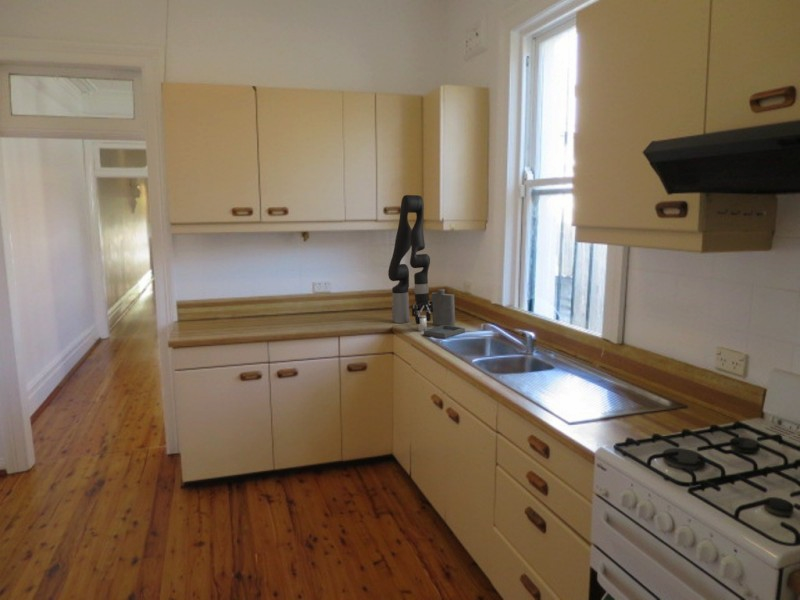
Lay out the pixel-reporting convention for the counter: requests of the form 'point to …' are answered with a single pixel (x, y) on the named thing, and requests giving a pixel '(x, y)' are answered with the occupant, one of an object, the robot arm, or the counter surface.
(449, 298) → the hip flask
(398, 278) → the robot arm
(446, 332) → the tray
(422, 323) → the shaker
